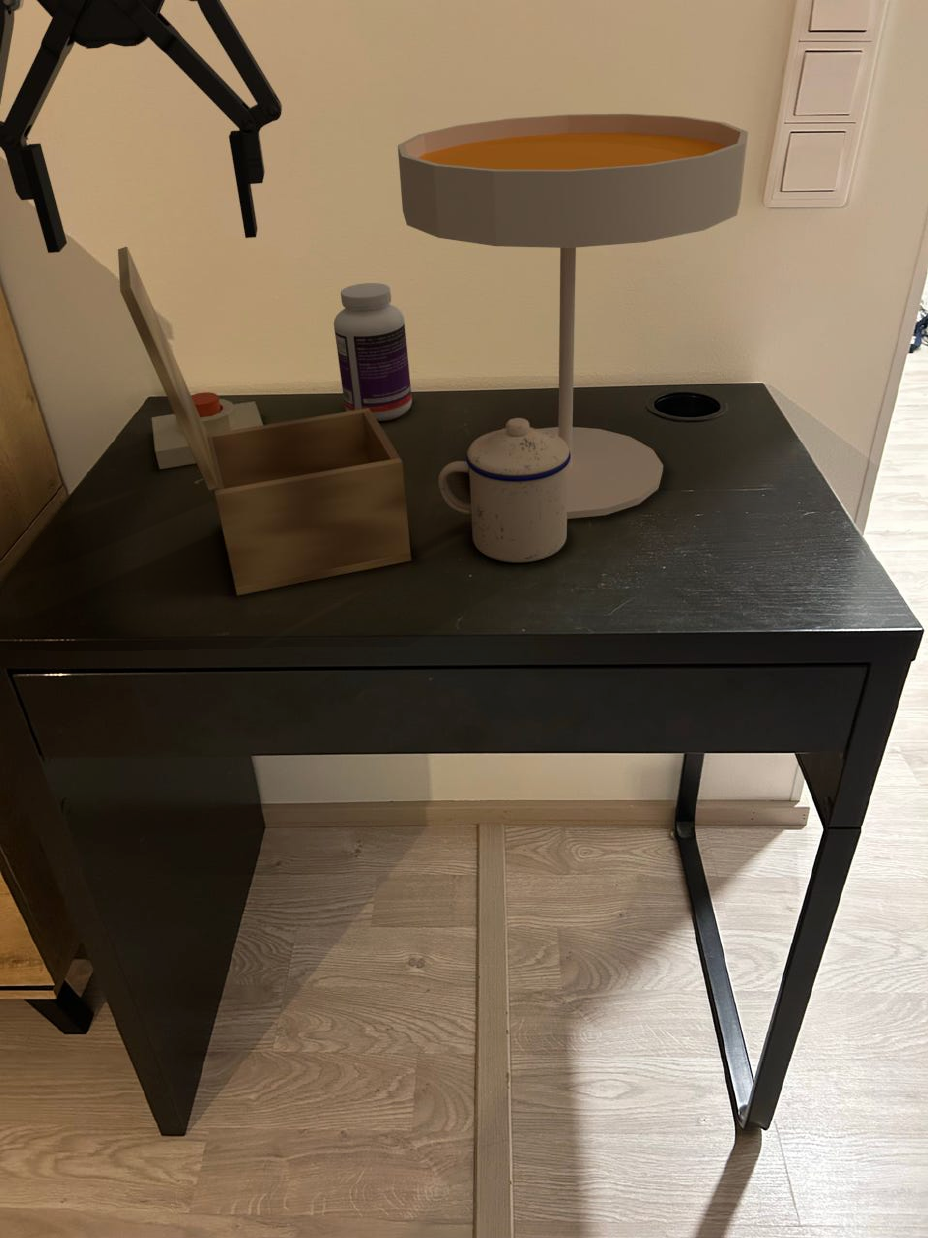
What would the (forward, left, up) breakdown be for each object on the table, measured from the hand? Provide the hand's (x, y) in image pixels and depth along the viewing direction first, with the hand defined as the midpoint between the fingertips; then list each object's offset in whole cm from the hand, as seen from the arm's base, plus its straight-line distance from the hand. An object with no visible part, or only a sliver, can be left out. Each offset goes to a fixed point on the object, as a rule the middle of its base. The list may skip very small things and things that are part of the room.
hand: (155, 241), depth 68 cm
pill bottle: (+21, +32, -29) cm, 48 cm away
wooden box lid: (-1, +3, -10) cm, 11 cm away
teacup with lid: (+25, -2, -29) cm, 38 cm away
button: (+1, +31, -25) cm, 40 cm away
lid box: (+8, +3, -29) cm, 30 cm away
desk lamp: (+35, +8, -29) cm, 46 cm away
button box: (+1, +31, -29) cm, 42 cm away
